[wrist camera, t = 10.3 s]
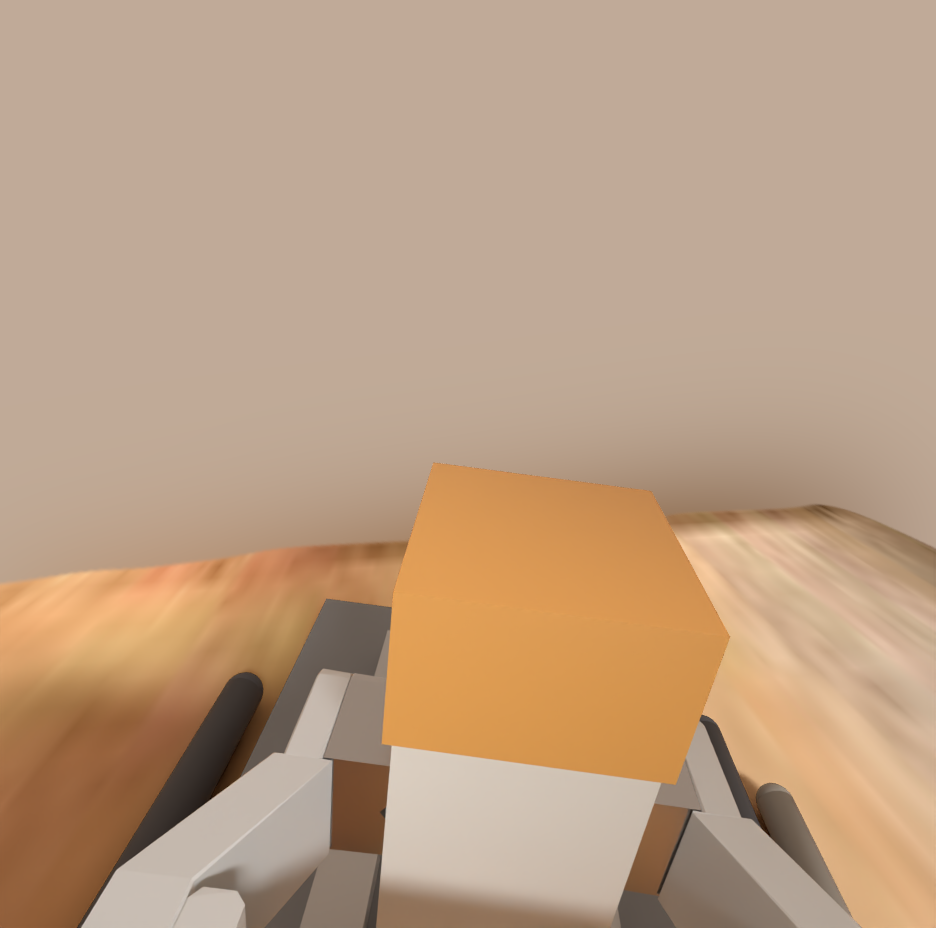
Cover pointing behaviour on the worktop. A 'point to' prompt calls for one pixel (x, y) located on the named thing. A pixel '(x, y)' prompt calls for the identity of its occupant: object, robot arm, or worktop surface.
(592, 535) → the lever
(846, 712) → the worktop surface
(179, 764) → the cords
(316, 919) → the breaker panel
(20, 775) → the worktop surface
